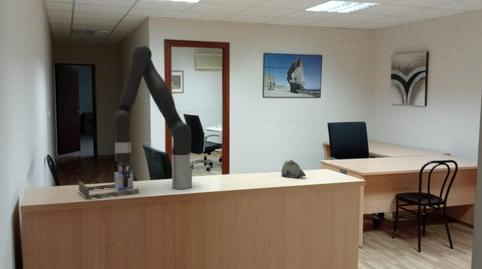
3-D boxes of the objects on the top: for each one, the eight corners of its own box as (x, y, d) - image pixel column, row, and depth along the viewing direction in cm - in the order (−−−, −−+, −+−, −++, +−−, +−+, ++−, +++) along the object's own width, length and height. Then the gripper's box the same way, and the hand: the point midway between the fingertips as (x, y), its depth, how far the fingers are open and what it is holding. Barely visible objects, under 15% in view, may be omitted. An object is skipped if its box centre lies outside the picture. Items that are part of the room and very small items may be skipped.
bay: (127, 186, 230) (127, 176, 230) (138, 193, 213) (138, 183, 213) (79, 191, 218) (78, 181, 218) (87, 199, 201) (86, 189, 201)
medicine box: (117, 190, 213) (117, 173, 212) (114, 189, 217) (114, 171, 216) (133, 188, 218) (133, 171, 217) (130, 187, 221) (129, 170, 221)
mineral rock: (306, 179, 250) (307, 161, 249) (289, 180, 246) (289, 162, 245) (295, 175, 262) (295, 158, 261) (279, 176, 258) (279, 159, 257)
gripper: (135, 152, 211) (136, 187, 213) (126, 149, 224) (127, 182, 225) (119, 153, 208) (120, 189, 209) (111, 150, 220) (112, 184, 222)
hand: (124, 185), depth 217 cm, fingers closed on medicine box, 4 cm apart
